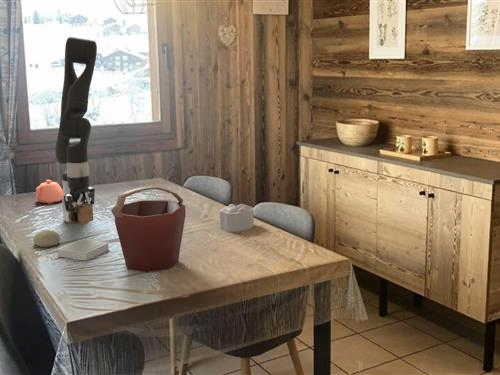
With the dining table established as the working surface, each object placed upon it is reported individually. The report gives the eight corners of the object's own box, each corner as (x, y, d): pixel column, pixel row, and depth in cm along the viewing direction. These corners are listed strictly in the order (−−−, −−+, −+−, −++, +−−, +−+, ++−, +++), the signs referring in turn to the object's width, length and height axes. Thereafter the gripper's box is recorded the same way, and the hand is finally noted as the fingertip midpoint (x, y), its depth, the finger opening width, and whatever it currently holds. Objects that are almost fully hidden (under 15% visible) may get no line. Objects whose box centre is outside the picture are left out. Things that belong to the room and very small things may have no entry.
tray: (57, 256, 205) (57, 248, 205) (81, 245, 216) (80, 238, 216) (86, 260, 201) (85, 252, 200) (108, 249, 211) (108, 242, 211)
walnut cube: (69, 222, 218) (68, 206, 217) (80, 218, 224) (79, 202, 222) (82, 224, 216) (81, 208, 215) (93, 220, 221) (92, 204, 220)
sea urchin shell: (36, 245, 212) (32, 225, 215) (35, 256, 218) (31, 237, 221) (63, 241, 216) (58, 222, 219) (61, 251, 222) (57, 233, 226)
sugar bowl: (69, 200, 285) (68, 179, 283) (45, 206, 273) (43, 184, 271) (52, 197, 291) (50, 176, 289) (27, 203, 280) (25, 182, 277)
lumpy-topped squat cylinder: (217, 227, 237) (216, 205, 236) (245, 221, 244) (244, 200, 242) (230, 233, 229) (230, 210, 227) (259, 227, 236) (259, 205, 234)
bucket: (119, 280, 183) (114, 199, 177) (105, 258, 203) (100, 184, 197) (197, 267, 192) (194, 190, 187) (176, 248, 212) (173, 177, 207)
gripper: (83, 169, 224) (86, 213, 228) (55, 177, 211) (59, 223, 215) (99, 171, 220) (102, 215, 224) (72, 179, 208) (75, 226, 212)
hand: (81, 219), depth 220 cm, fingers closed on walnut cube, 6 cm apart
